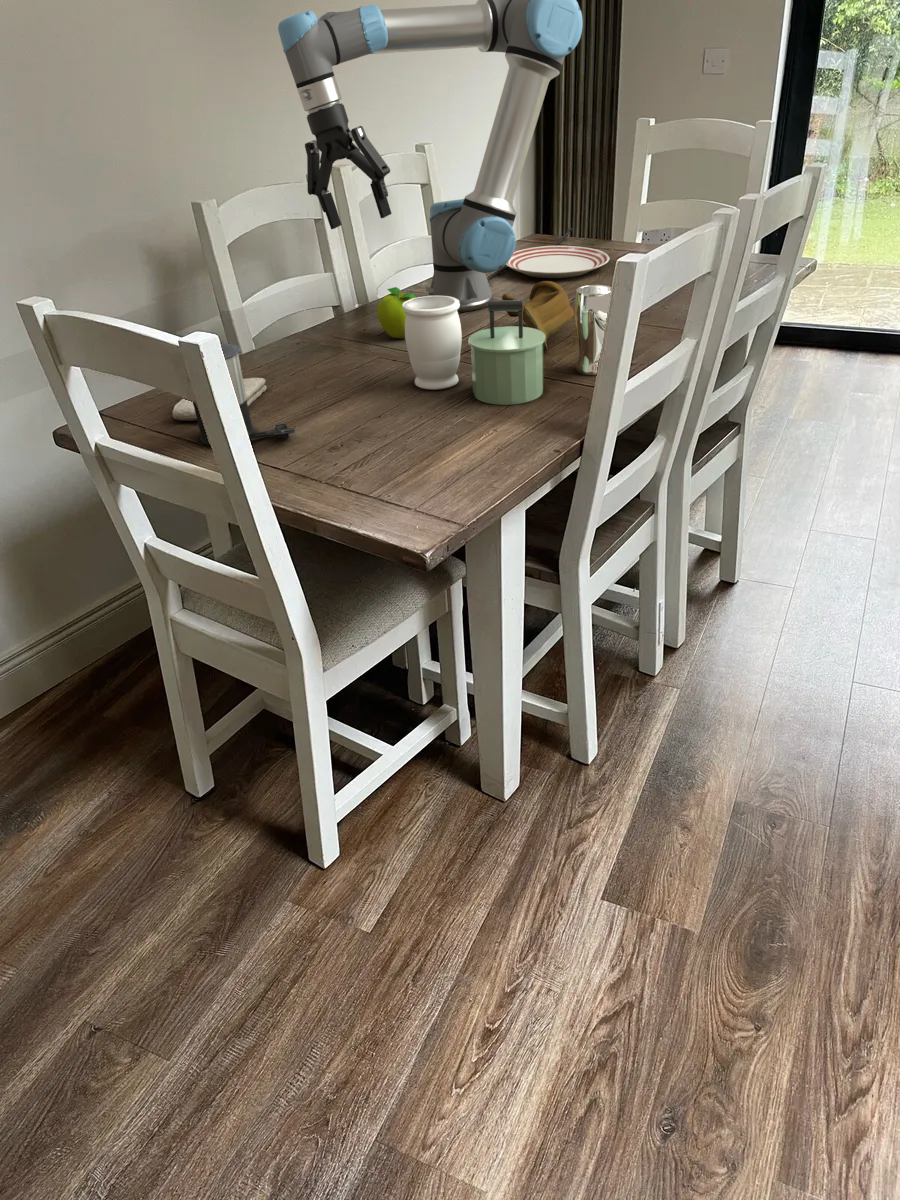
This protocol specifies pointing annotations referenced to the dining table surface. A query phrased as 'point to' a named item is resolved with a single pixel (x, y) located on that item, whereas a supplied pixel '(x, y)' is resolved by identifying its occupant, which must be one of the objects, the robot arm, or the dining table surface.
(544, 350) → the brown looped sculpture
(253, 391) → the washcloth
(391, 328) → the fruit
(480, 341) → the pot lid
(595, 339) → the beer glass
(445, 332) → the jar
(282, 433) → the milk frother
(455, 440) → the dining table surface
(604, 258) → the dinner plate
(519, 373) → the pot
